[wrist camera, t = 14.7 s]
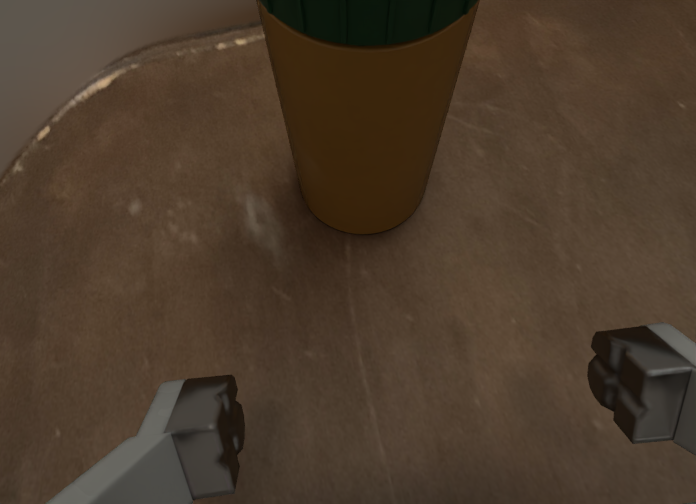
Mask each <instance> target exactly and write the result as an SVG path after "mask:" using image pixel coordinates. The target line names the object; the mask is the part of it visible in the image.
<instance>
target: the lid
mask: <svg viewBox="0 0 696 504" xmlns="http://www.w3.org/2000/svg"><path fill="white" fill-rule="evenodd" d="M259 1H260V2H261V3H262V5H263V6H264V7H265V8H266V9H267V12H268V13H269V14H272V15H274V16H275V17H276V18H278V19H279V20H281V21H282V22H284V23H285V24H286V25H288V26H290V27H292V28H294V29H296V30H298V31H300V32H302V33H304V34H306V35H308V36H311V37H315V38H318V39H322V40H326V41H330V42H334V43H340V44H347V45H357V46H376V45H390V44H396V43H402V42H407V41H413V40H416V39H418V38H421V37H424V36H427V35H429V34H432V33H434V32H437V31H439V30H441V29H443V28H445V27H446V26H448V25H450V24H452V23H453V22H455V21H457V20H458V19H460V17H462V16H463V15H466V14H468V13H469V10H470V9H471V8H472V7H473V6H474V5H475V4H476V3H477V1H478V0H259Z"/></svg>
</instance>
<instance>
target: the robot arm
mask: <svg viewBox="0 0 696 504" xmlns="http://www.w3.org/2000/svg"><path fill="white" fill-rule="evenodd" d="M591 348H592V349H593V351H594V352H595V353H596V356H595V357H594V358H593V359H592V360H591V361H590V362H589V364H588V374H587V377H588V381H589V386H590V389H591V391H592V393H593V395H594V397H595V398H596V399H597V401H598V402H599V403H600V405H602V406H604V407H606V408H608V409H610V410H611V411H613V412H614V418H613V421H614V422H615V423H616V424H617V425H618V427H619V428H620V429H621V430H622V431H623V433H624V434H625V435H626V436H627V438H628V439H629V440H630V441H631V442H632V444H637V443H647V442H657V441H668V440H674V441H673V442H674V443H676V444H678V445H679V446H681V447H682V448H684V449H686V450H687V451H689V452H691V453H692V454H694V455H696V344H695V343H694V342H693V341H691V340H690V339H689V338H688V337H686V336H685V335H684V334H682V333H681V332H680V331H678V330H677V329H676V328H674V327H673V326H672V325H670V324H667V323H664V322H661V323H654V324H648V325H641V326H639V327H631V328H623V329H615V330H607V331H599V332H596V333H595V335H594V336H593V338H592V344H591ZM237 391H238V388H237V385H236V381H235V377H234V376H232V375H222V376H212V377H202V378H191V379H187V380H186V379H183V380H174V381H165V382H164V383H162V384H161V385H160V386H159V388H158V390H157V393H156V395H155V397H154V399H153V401H152V403H151V405H150V407H149V410H148V412H147V414H146V416H145V418H144V420H143V422H142V424H141V427H140V429H139V431H138V433H137V435H136V437H130V438H128V439H126V440H125V441H124V442H122V443H121V444H120V445H119V446H117V447H116V448H115V449H114V450H112V451H111V452H110V453H109V454H107V455H106V456H105V457H104V458H102V459H101V460H100V461H98V462H97V463H96V464H95V465H93V466H92V467H91V468H90V469H88V470H87V471H86V472H85V473H83V474H82V475H81V476H80V477H78V478H77V479H76V480H74V481H73V482H72V483H71V484H69V485H68V486H67V487H66V488H64V489H63V490H62V491H61V492H59V493H58V494H57V495H56V496H54V497H53V498H52V499H50V500H49V501H48V502H47V503H45V504H192V503H193V500H196V499H202V498H209V497H215V496H222V495H228V494H235V489H236V483H237V478H238V473H239V467H240V465H239V461H238V457H237V455H238V454H239V453H240V452H241V450H242V449H243V445H244V439H245V422H244V414H243V409H242V405H241V404H239V403H238V402H237V401H236V395H237ZM684 504H696V502H692V503H684Z"/></svg>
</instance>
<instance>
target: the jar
mask: <svg viewBox="0 0 696 504" xmlns="http://www.w3.org/2000/svg"><path fill="white" fill-rule="evenodd" d="M256 2H257V6H258V11H259V15H260V19H261V24H262V28H263V32H264V36H265V41H266V45H267V49H268V53H269V58H270V62H271V66H272V71H273V75H274V79H275V83H276V88H277V92H278V96H279V101H280V105H281V109H282V113H283V118H284V122H285V126H286V130H287V135H288V139H289V143H290V148H291V152H292V156H293V160H294V165H295V169H296V173H297V177H298V182H299V186H300V190H301V193H302V196H303V199H304V201H305V203H306V205H307V206H308V207H309V209H310V210H311V211H312V213H313V214H314V215H315V216H316V217H317V218H319V219H320V220H321V221H322V222H324V223H325V224H327V225H329V226H331V227H333V228H335V229H337V230H340V231H344V232H347V233H353V234H373V233H378V232H382V231H386V230H389V229H391V228H393V227H395V226H397V225H399V224H400V223H402V222H404V221H405V220H406V219H407V218H408V217H410V216H411V214H412V213H413V212H414V211H415V210H416V209H417V207H418V206H419V204H420V202H421V200H422V198H423V196H424V193H425V189H426V186H427V182H428V179H429V175H430V172H431V169H432V165H433V162H434V158H435V155H436V151H437V148H438V144H439V141H440V137H441V134H442V130H443V127H444V123H445V120H446V116H447V113H448V109H449V106H450V103H451V99H452V96H453V92H454V89H455V85H456V82H457V78H458V75H459V71H460V68H461V64H462V61H463V57H464V54H465V50H466V47H467V44H468V40H469V37H470V33H471V30H472V26H473V23H474V19H475V16H476V12H477V9H478V5H479V2H480V0H478V1H477V3H476V4H475V5H474V6H473V7H472V8H471V9H470V10H469V13H468V14H466V15H463V16H462V17H460V19H458V20H457V21H455V22H453V23H452V24H450V25H448V26H446V27H445V28H443V29H441V30H439V31H437V32H434V33H432V34H429V35H427V36H424V37H421V38H418V39H416V40H413V41H407V42H402V43H396V44H390V45H376V46H357V45H347V44H340V43H334V42H330V41H326V40H322V39H318V38H315V37H311V36H308V35H306V34H304V33H302V32H300V31H298V30H296V29H294V28H292V27H290V26H288V25H286V24H285V23H284V22H282V21H281V20H279V19H278V18H276V17H275V16H274V15H272V14H269V13H268V12H267V9H266V8H265V7H264V6H263V5H262V3H261V2H260V1H259V0H256Z"/></svg>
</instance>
